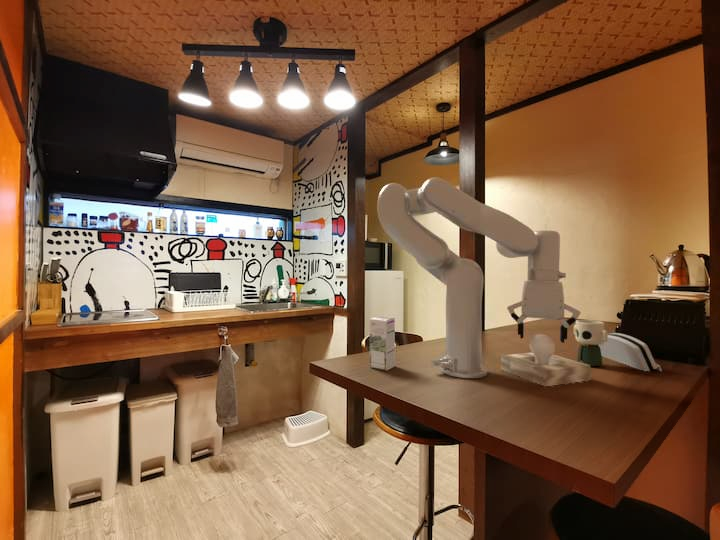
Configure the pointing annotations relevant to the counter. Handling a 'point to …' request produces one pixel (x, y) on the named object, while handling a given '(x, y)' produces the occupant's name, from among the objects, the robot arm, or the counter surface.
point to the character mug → (590, 341)
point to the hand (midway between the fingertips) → (541, 339)
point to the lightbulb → (542, 348)
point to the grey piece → (628, 352)
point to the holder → (545, 369)
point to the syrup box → (382, 343)
